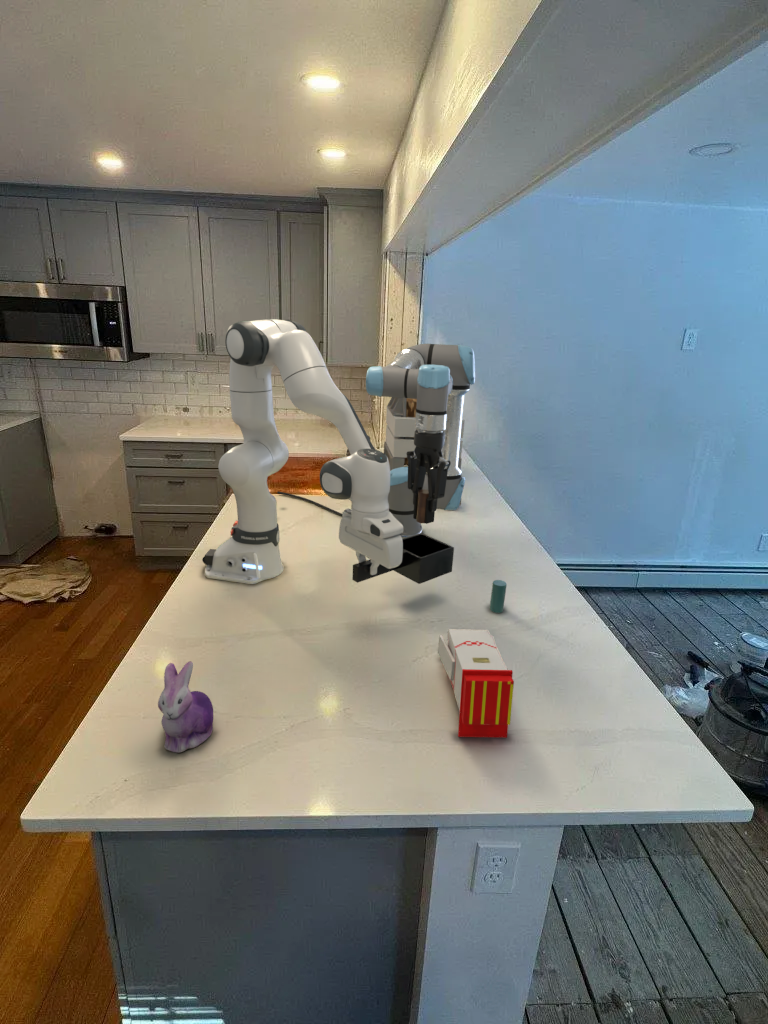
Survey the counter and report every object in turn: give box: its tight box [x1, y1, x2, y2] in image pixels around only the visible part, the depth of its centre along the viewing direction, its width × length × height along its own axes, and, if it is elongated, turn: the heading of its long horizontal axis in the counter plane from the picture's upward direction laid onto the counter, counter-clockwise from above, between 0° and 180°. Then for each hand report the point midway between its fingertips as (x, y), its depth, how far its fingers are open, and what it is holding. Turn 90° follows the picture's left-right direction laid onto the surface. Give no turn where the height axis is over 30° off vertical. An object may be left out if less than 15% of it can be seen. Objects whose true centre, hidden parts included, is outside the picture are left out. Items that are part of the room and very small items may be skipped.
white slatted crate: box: [383, 397, 465, 471], centre depth 268 cm, size 34×33×41 cm
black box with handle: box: [351, 532, 455, 585], centre depth 145 cm, size 12×28×7 cm, turn 131°
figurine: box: [157, 660, 214, 753], centre depth 100 cm, size 9×10×15 cm
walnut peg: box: [416, 489, 429, 524], centre depth 145 cm, size 4×4×8 cm
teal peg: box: [489, 579, 507, 614], centre depth 151 cm, size 4×4×8 cm
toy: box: [437, 628, 515, 738], centre depth 117 cm, size 12×13×30 cm
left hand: (367, 571), depth 139 cm, fingers closed on black box with handle
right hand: (423, 519), depth 146 cm, fingers closed on walnut peg, 3 cm apart
